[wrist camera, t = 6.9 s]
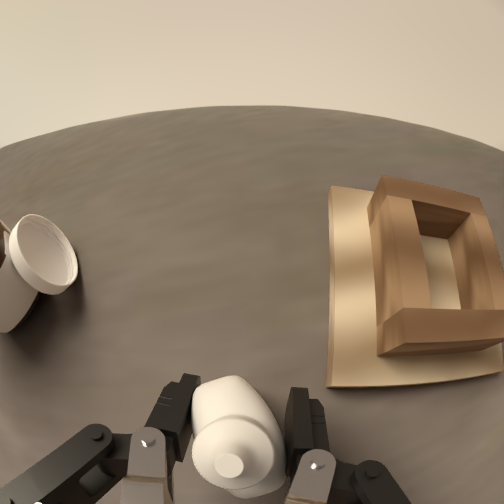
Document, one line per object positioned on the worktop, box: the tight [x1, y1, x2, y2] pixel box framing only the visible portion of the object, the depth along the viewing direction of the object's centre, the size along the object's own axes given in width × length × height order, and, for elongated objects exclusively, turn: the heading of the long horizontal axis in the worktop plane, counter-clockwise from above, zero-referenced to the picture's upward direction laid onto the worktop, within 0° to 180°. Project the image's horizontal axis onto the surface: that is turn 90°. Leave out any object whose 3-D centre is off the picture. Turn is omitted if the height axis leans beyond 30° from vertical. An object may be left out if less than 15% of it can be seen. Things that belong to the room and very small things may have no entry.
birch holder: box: [326, 175, 504, 388], centre depth 18 cm, size 16×16×6 cm
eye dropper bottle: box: [191, 376, 287, 499], centre depth 11 cm, size 4×6×12 cm
